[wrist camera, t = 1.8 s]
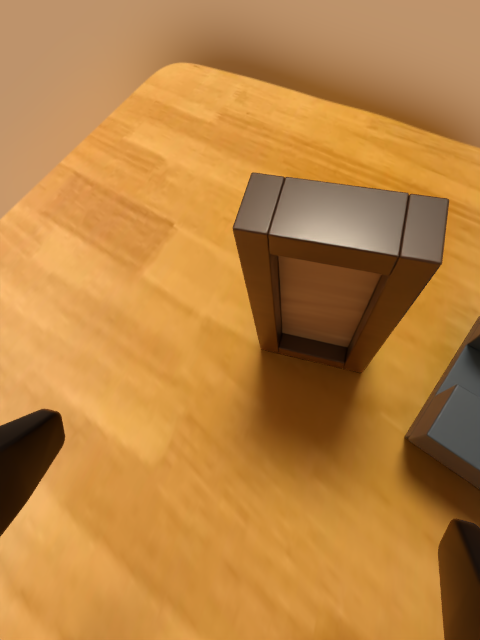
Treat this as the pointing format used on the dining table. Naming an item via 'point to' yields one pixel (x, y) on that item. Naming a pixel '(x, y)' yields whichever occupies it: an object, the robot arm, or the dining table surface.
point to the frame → (334, 264)
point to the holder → (454, 414)
